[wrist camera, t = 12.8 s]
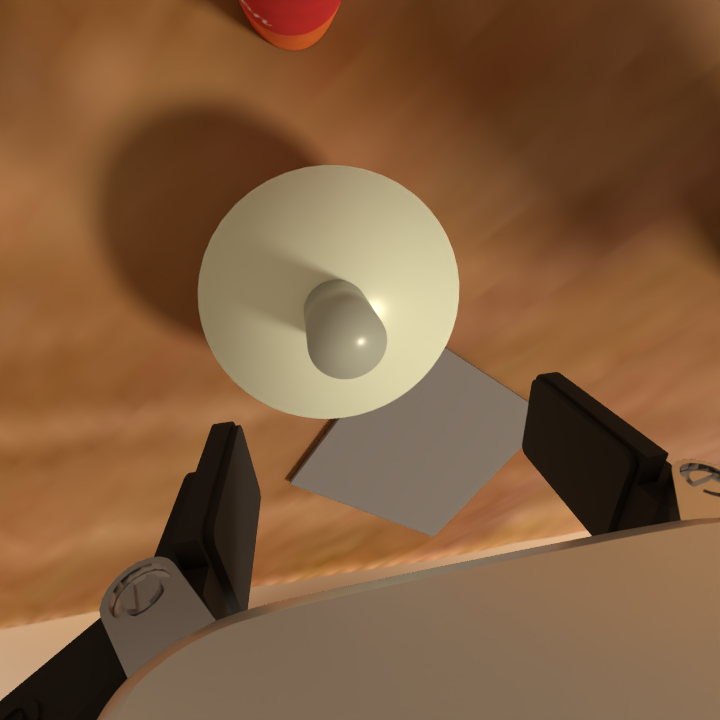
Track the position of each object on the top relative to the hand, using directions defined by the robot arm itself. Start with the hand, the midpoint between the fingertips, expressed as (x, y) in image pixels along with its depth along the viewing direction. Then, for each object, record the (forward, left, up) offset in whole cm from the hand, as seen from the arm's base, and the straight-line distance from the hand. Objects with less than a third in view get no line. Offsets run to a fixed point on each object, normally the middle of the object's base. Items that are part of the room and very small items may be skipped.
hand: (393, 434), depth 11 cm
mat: (-18, +9, -19) cm, 28 cm away
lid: (0, 0, -13) cm, 13 cm away
